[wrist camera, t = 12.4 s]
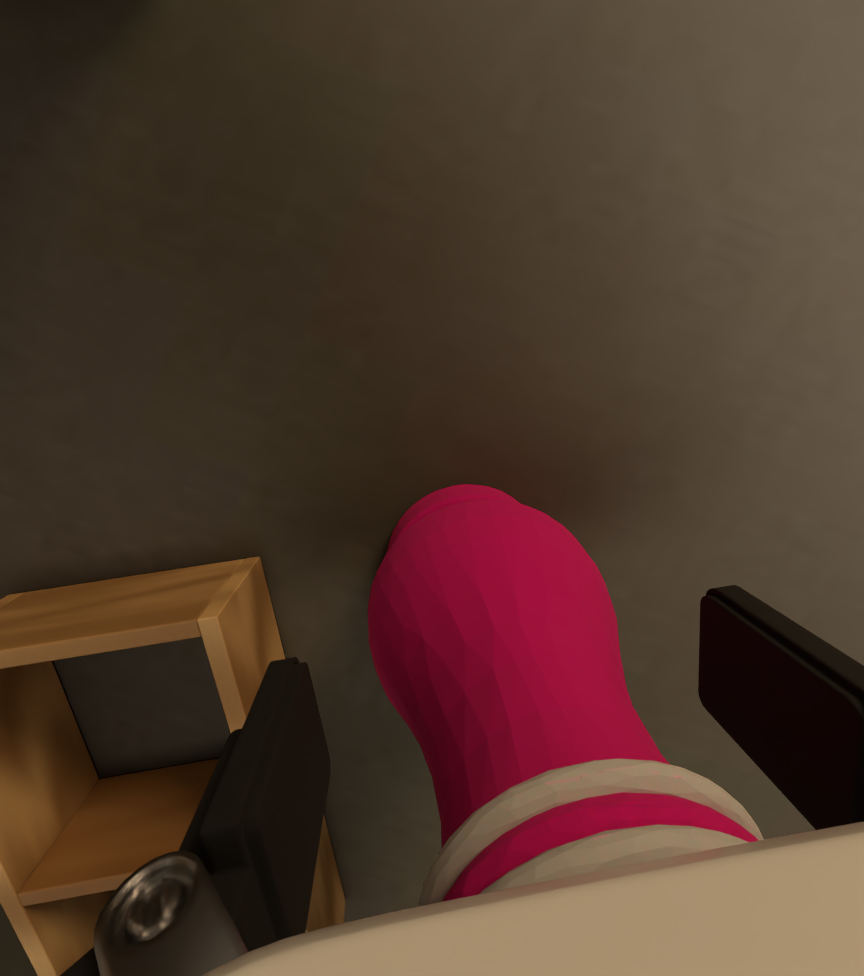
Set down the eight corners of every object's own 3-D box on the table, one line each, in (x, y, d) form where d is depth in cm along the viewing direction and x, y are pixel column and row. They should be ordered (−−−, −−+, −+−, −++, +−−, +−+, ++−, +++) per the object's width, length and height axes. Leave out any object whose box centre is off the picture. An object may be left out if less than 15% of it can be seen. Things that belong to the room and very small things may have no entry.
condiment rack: (8, 594, 17) (-121, 669, 13) (260, 555, 18) (216, 616, 13) (149, 936, 22) (89, 1076, 18) (345, 900, 22) (334, 1028, 18)
